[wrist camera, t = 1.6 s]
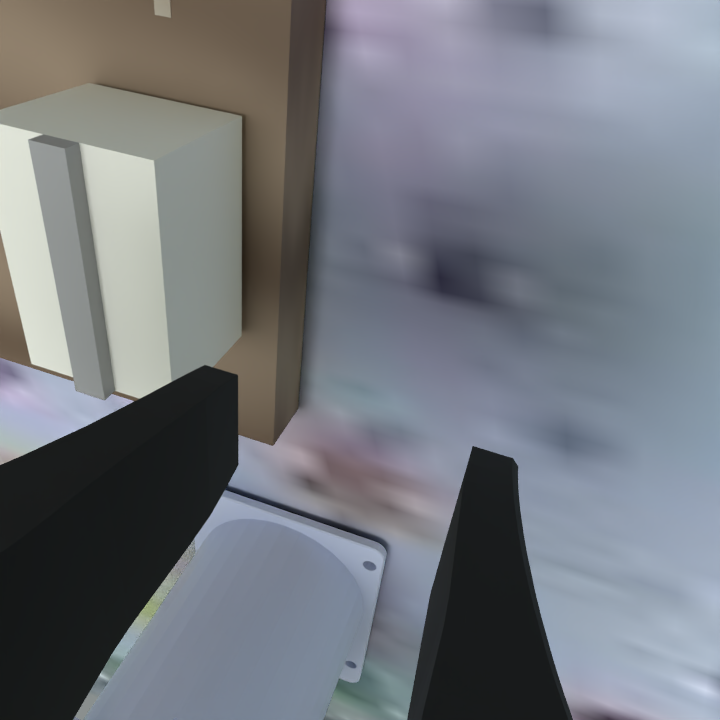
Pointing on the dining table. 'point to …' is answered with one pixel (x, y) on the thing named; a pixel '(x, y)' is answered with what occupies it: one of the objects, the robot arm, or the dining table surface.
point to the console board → (217, 92)
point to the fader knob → (122, 235)
